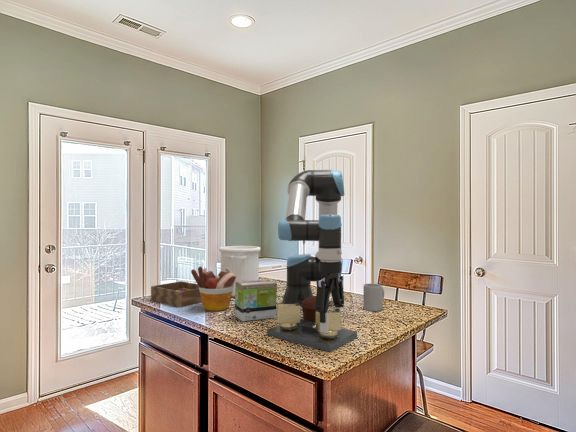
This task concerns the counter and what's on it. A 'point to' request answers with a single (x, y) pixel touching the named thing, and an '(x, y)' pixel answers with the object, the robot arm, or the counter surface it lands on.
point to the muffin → (310, 309)
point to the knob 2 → (330, 324)
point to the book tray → (176, 294)
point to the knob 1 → (288, 315)
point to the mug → (373, 297)
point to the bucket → (241, 262)
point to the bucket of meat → (214, 288)
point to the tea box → (255, 300)
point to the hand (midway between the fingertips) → (330, 329)
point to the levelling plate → (312, 336)
